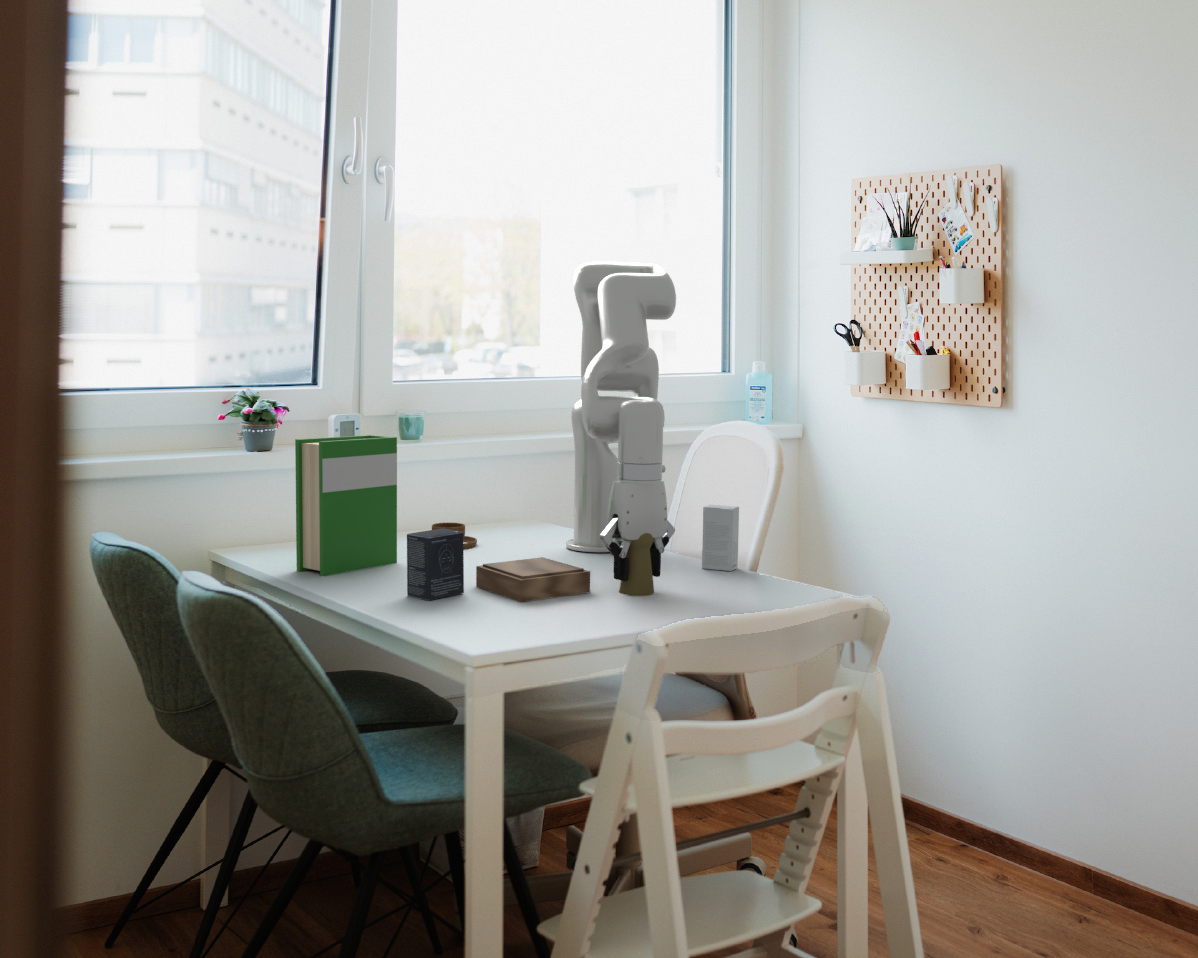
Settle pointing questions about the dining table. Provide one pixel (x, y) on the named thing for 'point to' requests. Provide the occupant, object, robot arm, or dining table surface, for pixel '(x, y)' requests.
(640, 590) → the cork
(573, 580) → the walnut plinth
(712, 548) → the skincare box
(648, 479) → the robot arm
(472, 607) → the dining table surface
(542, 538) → the dining table surface
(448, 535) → the box
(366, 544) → the hardback book
